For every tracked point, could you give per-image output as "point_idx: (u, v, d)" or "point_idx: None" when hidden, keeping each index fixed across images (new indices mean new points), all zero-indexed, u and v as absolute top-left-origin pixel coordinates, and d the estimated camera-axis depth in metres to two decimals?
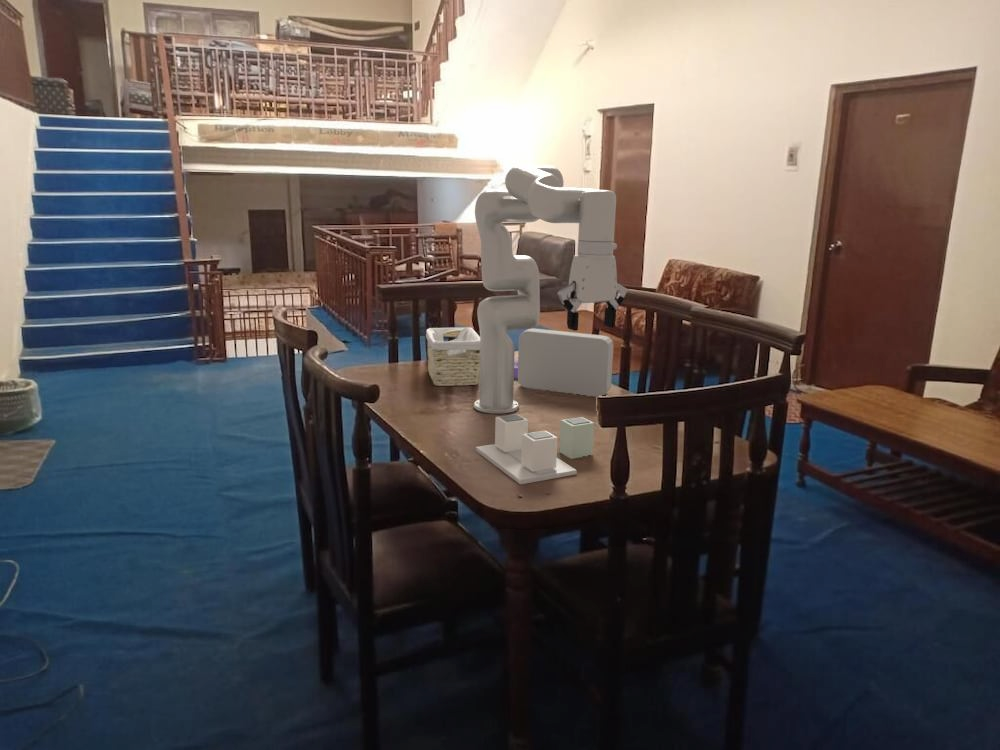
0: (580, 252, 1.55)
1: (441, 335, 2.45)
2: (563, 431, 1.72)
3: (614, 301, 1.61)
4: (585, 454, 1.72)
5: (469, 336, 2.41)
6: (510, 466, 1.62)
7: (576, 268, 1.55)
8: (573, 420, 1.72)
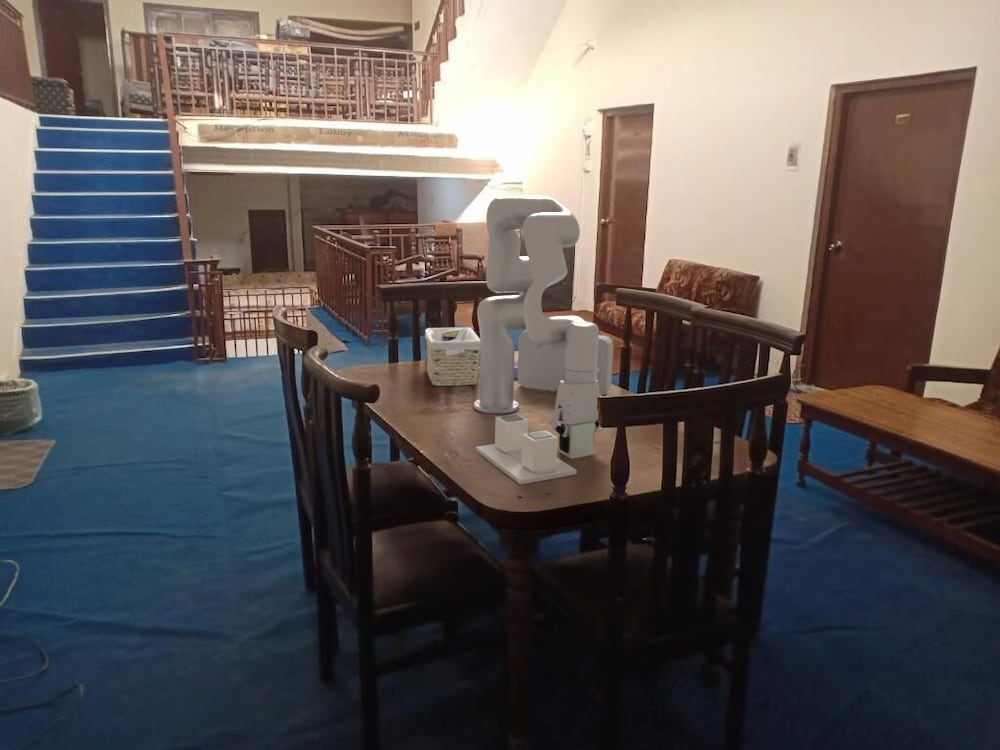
0: (565, 379, 1.68)
1: (440, 335, 2.45)
2: None
3: (594, 424, 1.72)
4: (585, 454, 1.72)
5: (468, 336, 2.41)
6: (510, 466, 1.62)
7: (562, 394, 1.68)
8: None
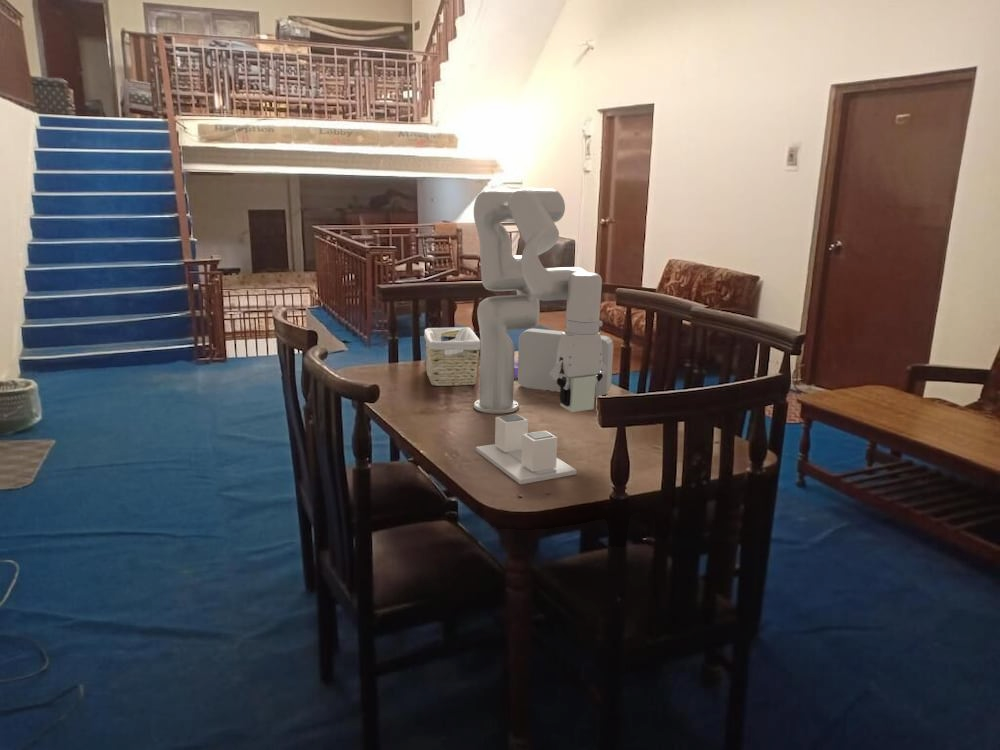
0: (567, 330, 1.65)
1: (439, 335, 2.45)
2: None
3: None
4: (586, 408, 1.70)
5: (467, 336, 2.41)
6: (510, 466, 1.62)
7: (563, 345, 1.65)
8: None
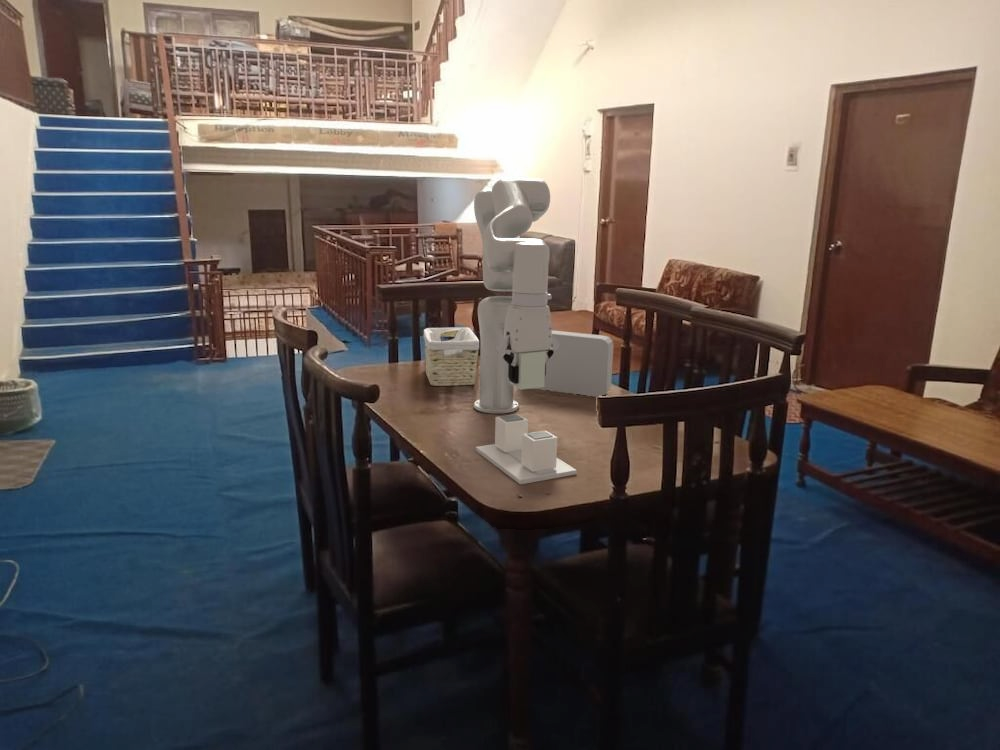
0: (514, 303, 1.57)
1: (439, 335, 2.45)
2: None
3: None
4: (536, 385, 1.61)
5: (466, 336, 2.41)
6: (510, 466, 1.62)
7: (510, 319, 1.57)
8: None
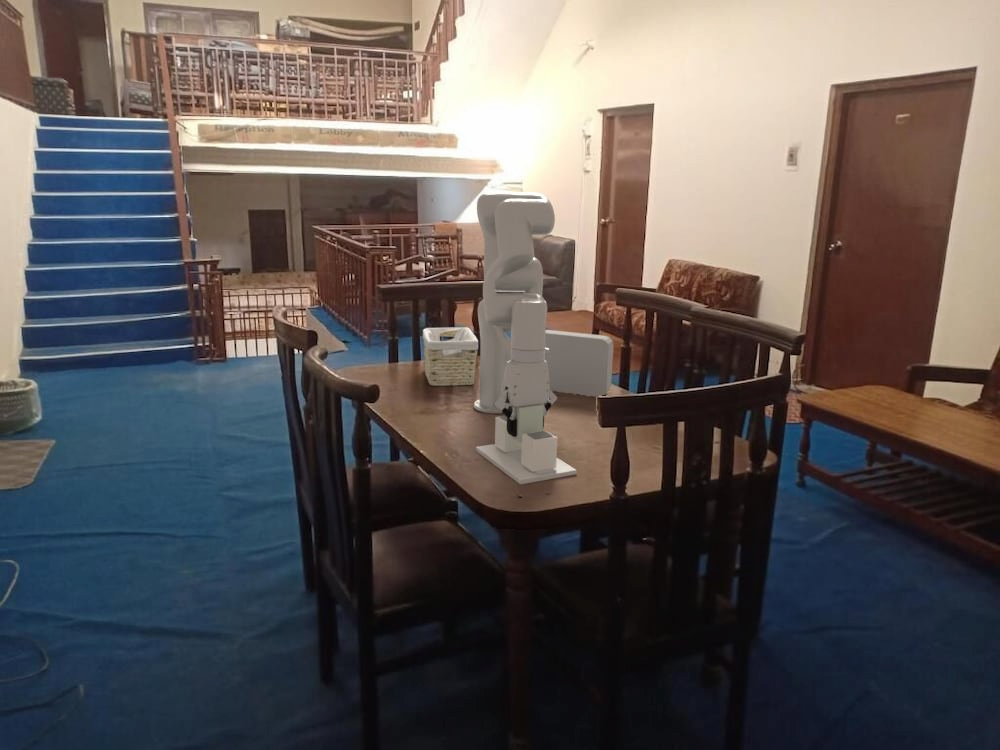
0: (512, 359, 1.60)
1: (438, 335, 2.45)
2: None
3: (543, 407, 1.65)
4: None
5: (465, 336, 2.41)
6: (510, 466, 1.62)
7: (508, 374, 1.60)
8: None
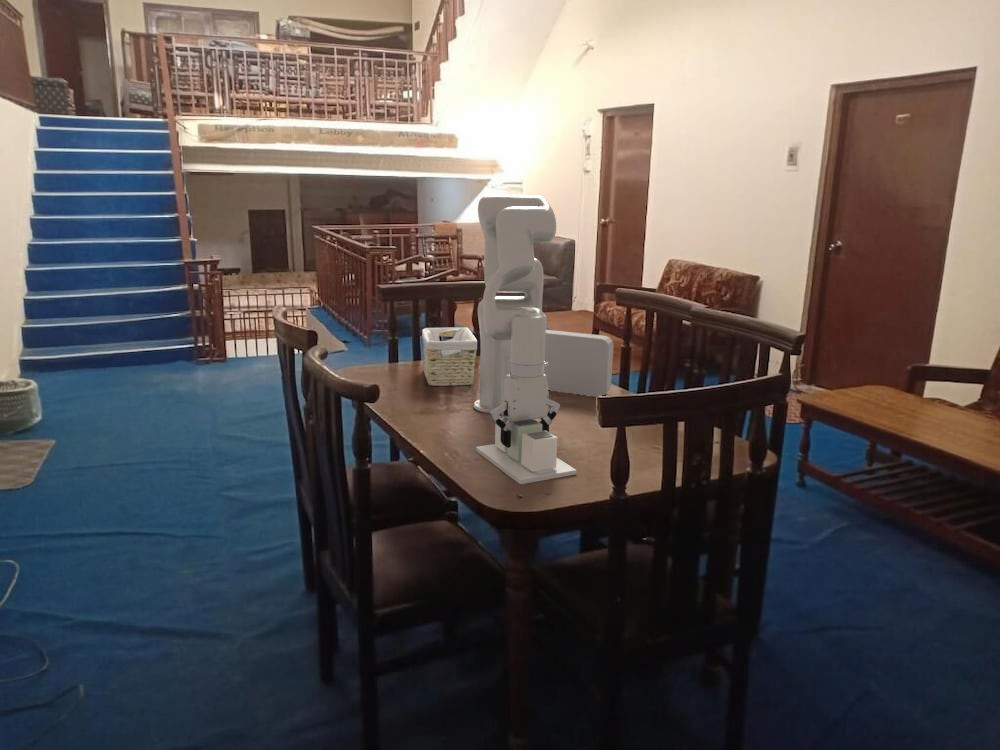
0: (512, 373, 1.61)
1: (437, 335, 2.45)
2: None
3: (547, 417, 1.66)
4: None
5: (465, 336, 2.41)
6: (510, 466, 1.62)
7: (508, 389, 1.61)
8: (521, 421, 1.65)
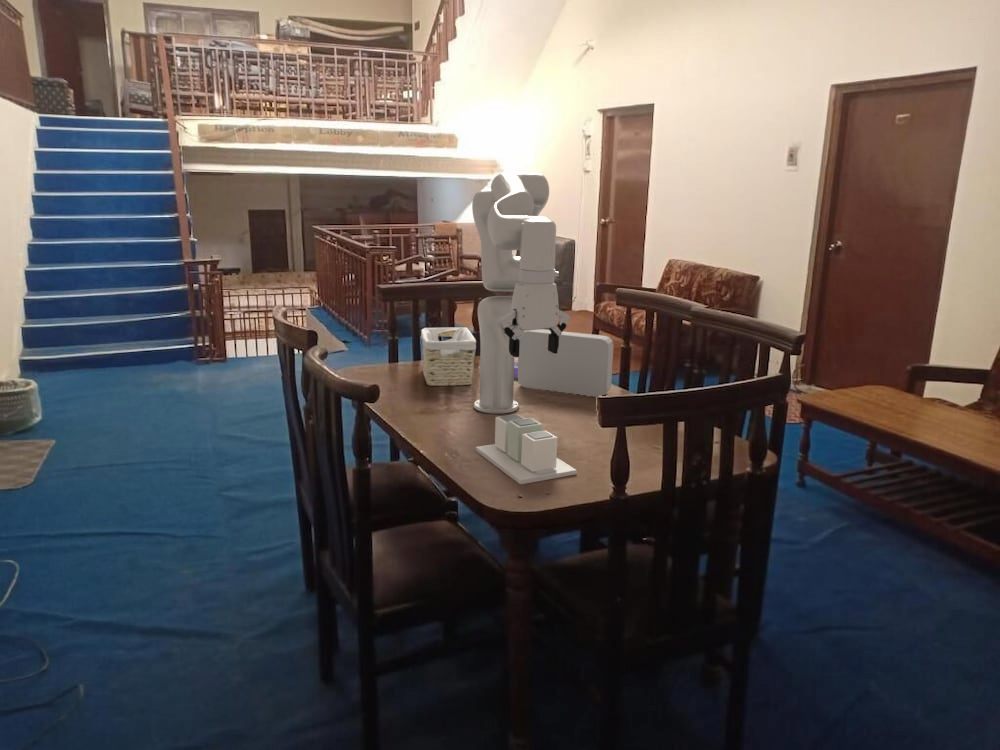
0: (521, 280, 1.58)
1: (436, 335, 2.45)
2: (510, 433, 1.66)
3: (556, 328, 1.63)
4: None
5: (464, 336, 2.41)
6: (510, 466, 1.62)
7: (517, 296, 1.58)
8: (521, 421, 1.65)
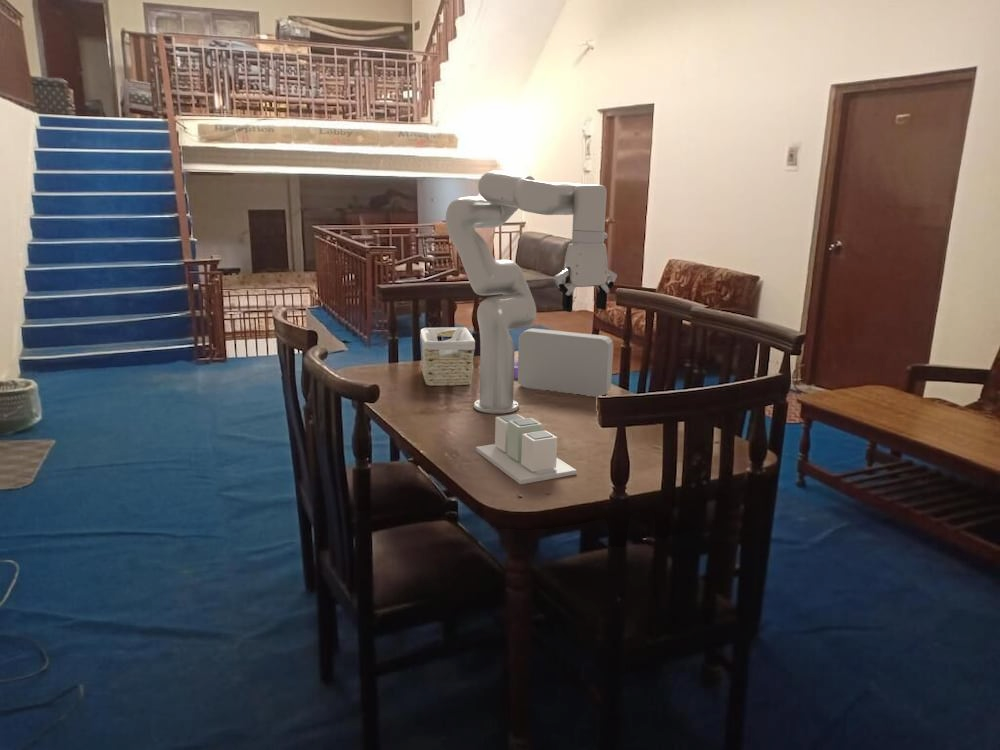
0: (574, 241, 1.72)
1: (435, 335, 2.45)
2: (510, 433, 1.66)
3: (605, 285, 1.77)
4: None
5: (463, 336, 2.41)
6: (510, 466, 1.62)
7: (570, 255, 1.72)
8: (521, 421, 1.65)
